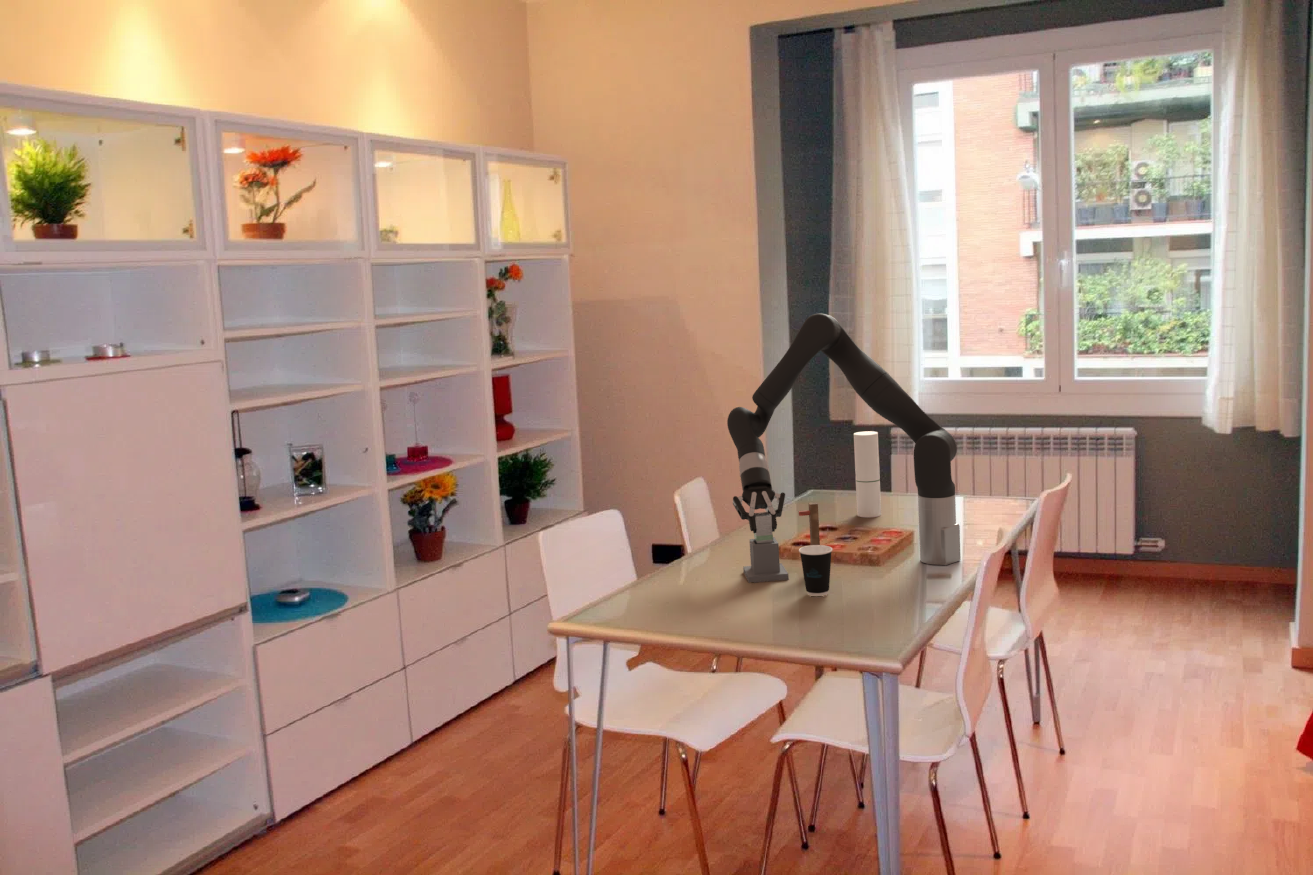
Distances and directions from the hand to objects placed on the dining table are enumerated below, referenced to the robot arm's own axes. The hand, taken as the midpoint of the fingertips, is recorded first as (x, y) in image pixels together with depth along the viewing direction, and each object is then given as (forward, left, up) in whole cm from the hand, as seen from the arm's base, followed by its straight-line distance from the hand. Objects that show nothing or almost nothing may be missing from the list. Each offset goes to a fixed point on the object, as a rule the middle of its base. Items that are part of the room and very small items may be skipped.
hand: (764, 530), depth 287 cm
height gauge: (-6, -12, -12) cm, 18 cm away
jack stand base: (+2, -1, -12) cm, 12 cm away
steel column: (+2, -1, -10) cm, 10 cm away
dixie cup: (-19, +2, -12) cm, 23 cm away
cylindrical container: (+25, -66, -12) cm, 72 cm away
